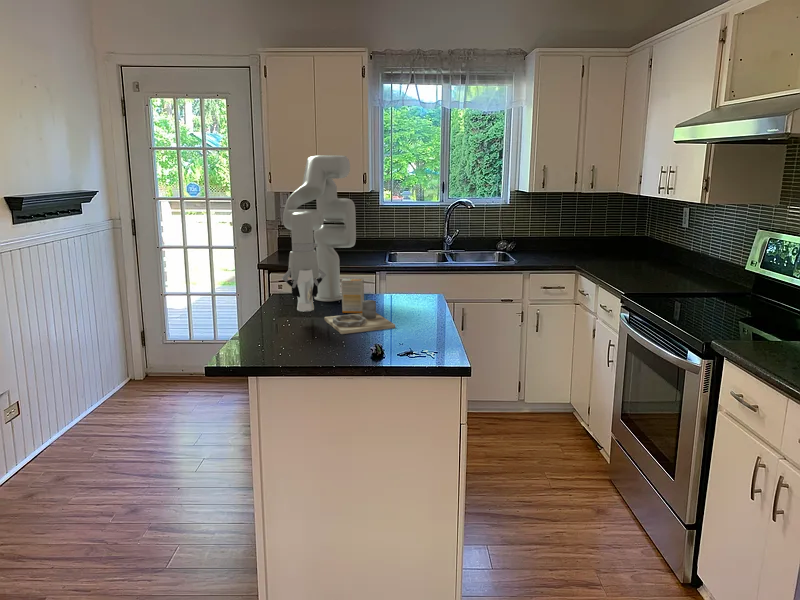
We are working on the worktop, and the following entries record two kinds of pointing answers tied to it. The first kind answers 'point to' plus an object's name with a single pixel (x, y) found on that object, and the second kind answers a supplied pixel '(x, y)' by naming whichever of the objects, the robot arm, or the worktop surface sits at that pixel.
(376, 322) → the carrier board
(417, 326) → the worktop surface
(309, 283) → the beer glass
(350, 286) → the supplement box
